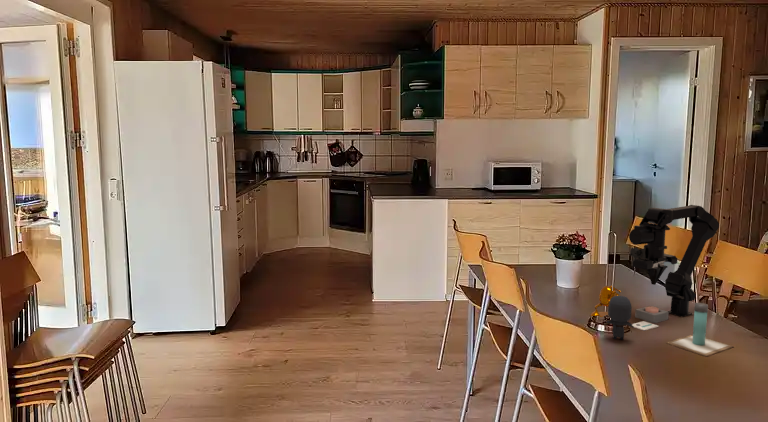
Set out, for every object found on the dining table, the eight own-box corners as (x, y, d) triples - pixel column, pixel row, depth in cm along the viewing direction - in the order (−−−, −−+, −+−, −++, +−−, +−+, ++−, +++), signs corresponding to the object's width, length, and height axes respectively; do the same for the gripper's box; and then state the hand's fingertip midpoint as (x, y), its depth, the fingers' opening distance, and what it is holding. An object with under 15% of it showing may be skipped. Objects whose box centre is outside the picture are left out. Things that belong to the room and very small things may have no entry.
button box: (648, 313, 216) (649, 306, 216) (668, 319, 210) (668, 311, 209) (635, 317, 212) (635, 309, 212) (654, 323, 206) (654, 315, 205)
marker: (694, 340, 187) (696, 302, 185) (706, 343, 184) (709, 304, 183) (690, 343, 184) (693, 304, 183) (703, 346, 182) (706, 307, 180)
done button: (649, 314, 214) (650, 305, 213) (660, 317, 210) (661, 308, 210) (642, 316, 212) (642, 307, 211) (653, 319, 208) (653, 310, 208)
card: (643, 321, 207) (643, 320, 207) (658, 326, 202) (658, 325, 202) (629, 325, 203) (629, 324, 203) (644, 330, 198) (644, 329, 198)
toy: (632, 337, 192) (634, 294, 190) (634, 345, 185) (636, 300, 183) (603, 334, 195) (605, 291, 193) (604, 342, 188) (606, 297, 186)
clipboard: (694, 335, 193) (694, 333, 193) (733, 347, 182) (733, 345, 182) (666, 343, 186) (666, 342, 186) (706, 356, 175) (706, 355, 175)
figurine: (622, 321, 208) (623, 289, 206) (590, 319, 211) (592, 287, 209) (619, 314, 216) (621, 283, 214) (589, 312, 219) (590, 281, 217)
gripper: (652, 236, 219) (649, 276, 221) (620, 241, 209) (618, 282, 211) (679, 241, 209) (676, 282, 211) (647, 246, 200) (644, 289, 202)
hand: (653, 284), depth 209 cm, fingers closed
